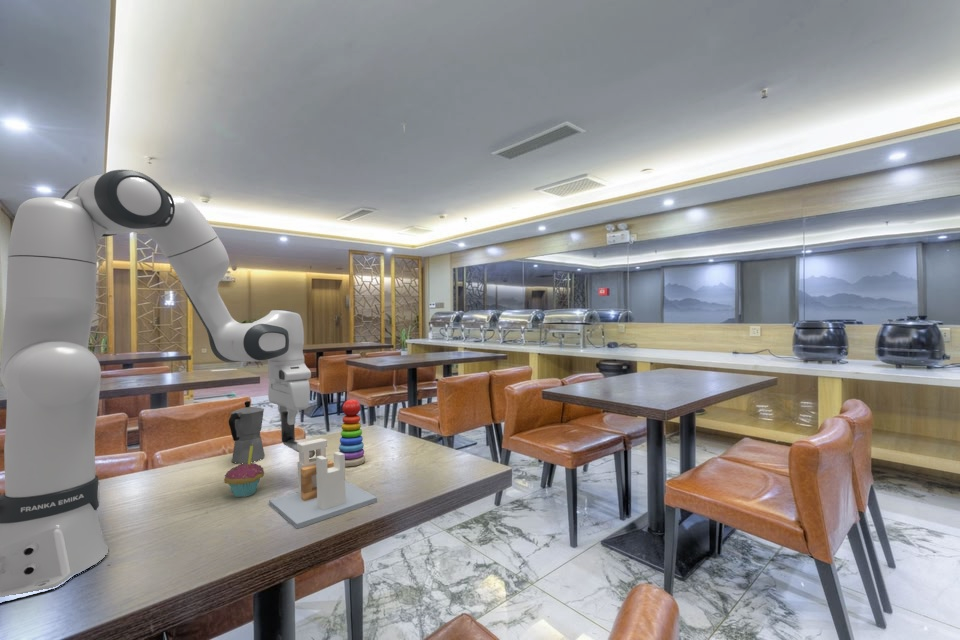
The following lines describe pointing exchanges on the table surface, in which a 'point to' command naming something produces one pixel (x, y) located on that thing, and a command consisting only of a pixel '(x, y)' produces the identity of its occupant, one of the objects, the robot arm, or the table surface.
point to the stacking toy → (352, 435)
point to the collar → (309, 481)
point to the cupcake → (244, 477)
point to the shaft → (290, 434)
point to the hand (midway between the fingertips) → (287, 422)
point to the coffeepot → (246, 433)
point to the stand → (321, 489)
